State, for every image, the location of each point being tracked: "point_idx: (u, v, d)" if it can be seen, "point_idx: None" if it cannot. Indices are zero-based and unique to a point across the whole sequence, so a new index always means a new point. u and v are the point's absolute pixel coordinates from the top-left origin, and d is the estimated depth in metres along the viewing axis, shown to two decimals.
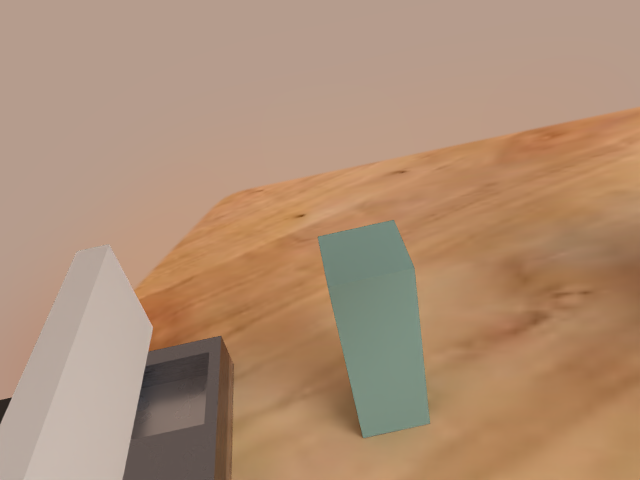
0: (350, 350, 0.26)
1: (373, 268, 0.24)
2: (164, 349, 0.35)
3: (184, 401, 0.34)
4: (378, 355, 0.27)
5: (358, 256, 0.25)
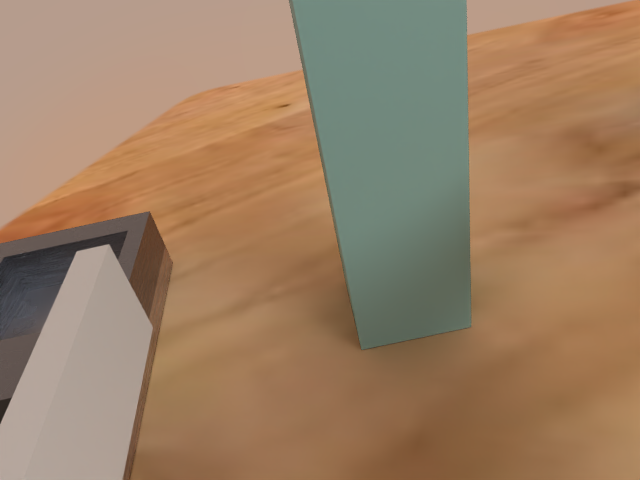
0: (338, 160, 0.14)
1: None
2: (64, 231, 0.23)
3: None
4: (389, 176, 0.15)
5: None
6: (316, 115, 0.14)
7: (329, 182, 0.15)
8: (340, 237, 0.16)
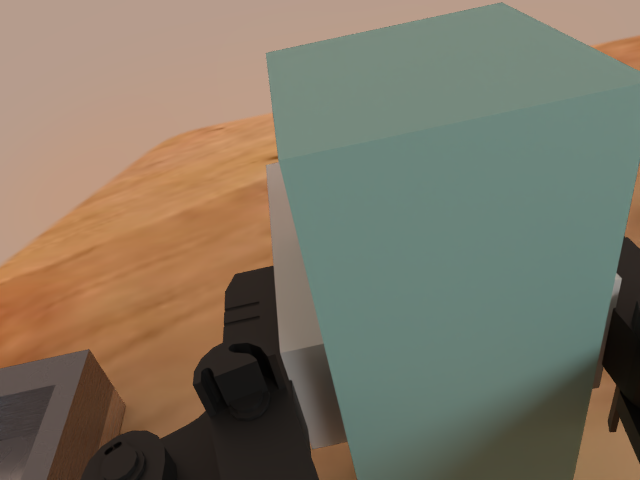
0: (366, 409, 0.08)
1: (468, 95, 0.06)
2: None
3: None
4: (452, 424, 0.08)
5: (402, 75, 0.07)
6: (328, 351, 0.07)
7: (348, 436, 0.08)
8: None
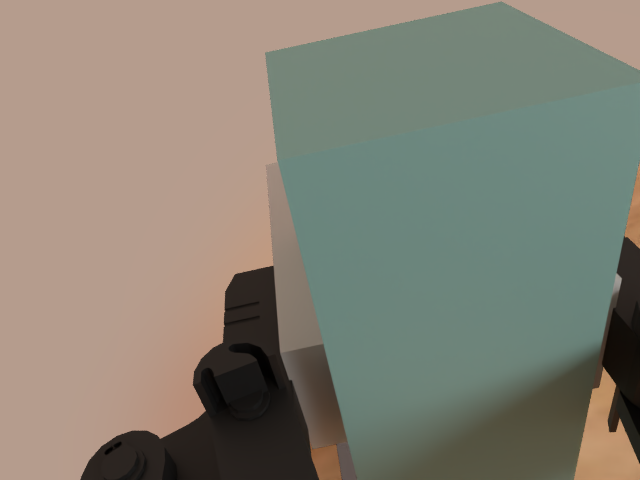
0: (365, 409, 0.08)
1: (467, 94, 0.06)
2: None
3: None
4: (452, 423, 0.08)
5: (402, 75, 0.07)
6: (328, 352, 0.07)
7: (348, 436, 0.08)
8: None
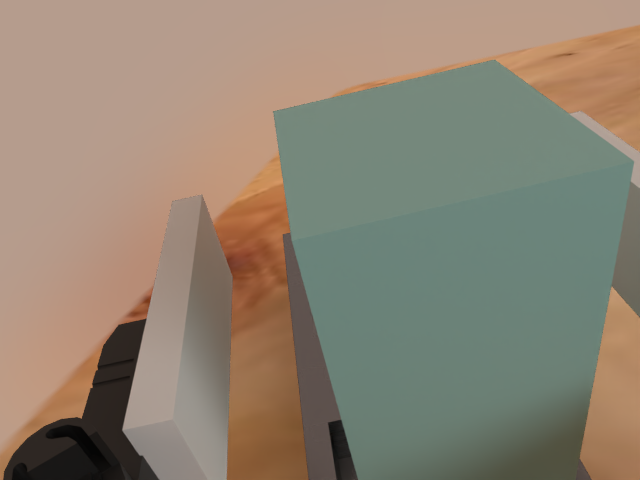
0: (373, 448, 0.09)
1: (463, 171, 0.06)
2: None
3: None
4: (455, 458, 0.09)
5: (402, 144, 0.07)
6: (338, 399, 0.08)
7: (358, 472, 0.09)
8: None
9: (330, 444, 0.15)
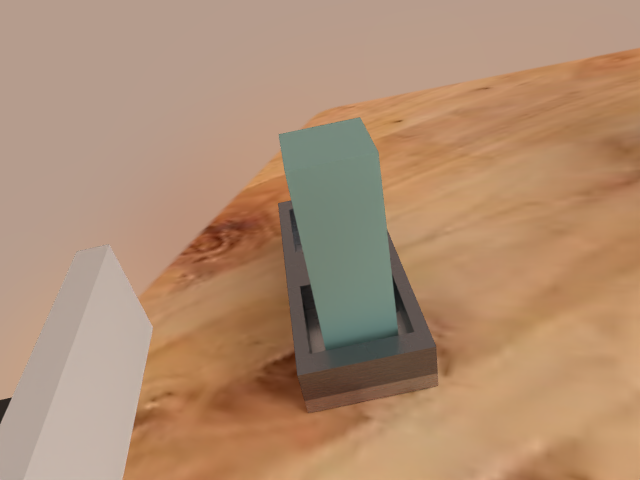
0: (312, 253, 0.24)
1: (334, 154, 0.22)
2: None
3: None
4: (342, 261, 0.25)
5: (320, 146, 0.23)
6: (298, 229, 0.24)
7: (306, 264, 0.25)
8: (313, 295, 0.26)
9: (300, 294, 0.31)
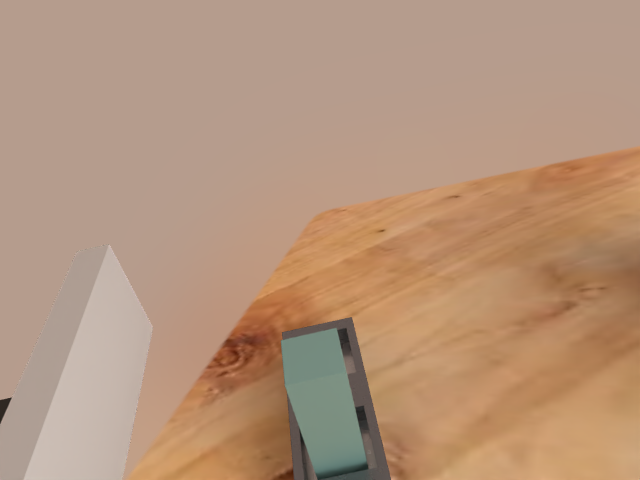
0: (304, 424, 0.36)
1: (317, 370, 0.34)
2: (312, 326, 0.51)
3: None
4: (325, 427, 0.36)
5: (308, 360, 0.35)
6: (295, 413, 0.35)
7: (301, 431, 0.36)
8: (306, 446, 0.37)
9: (298, 427, 0.42)
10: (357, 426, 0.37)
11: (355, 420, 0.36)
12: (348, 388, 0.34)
